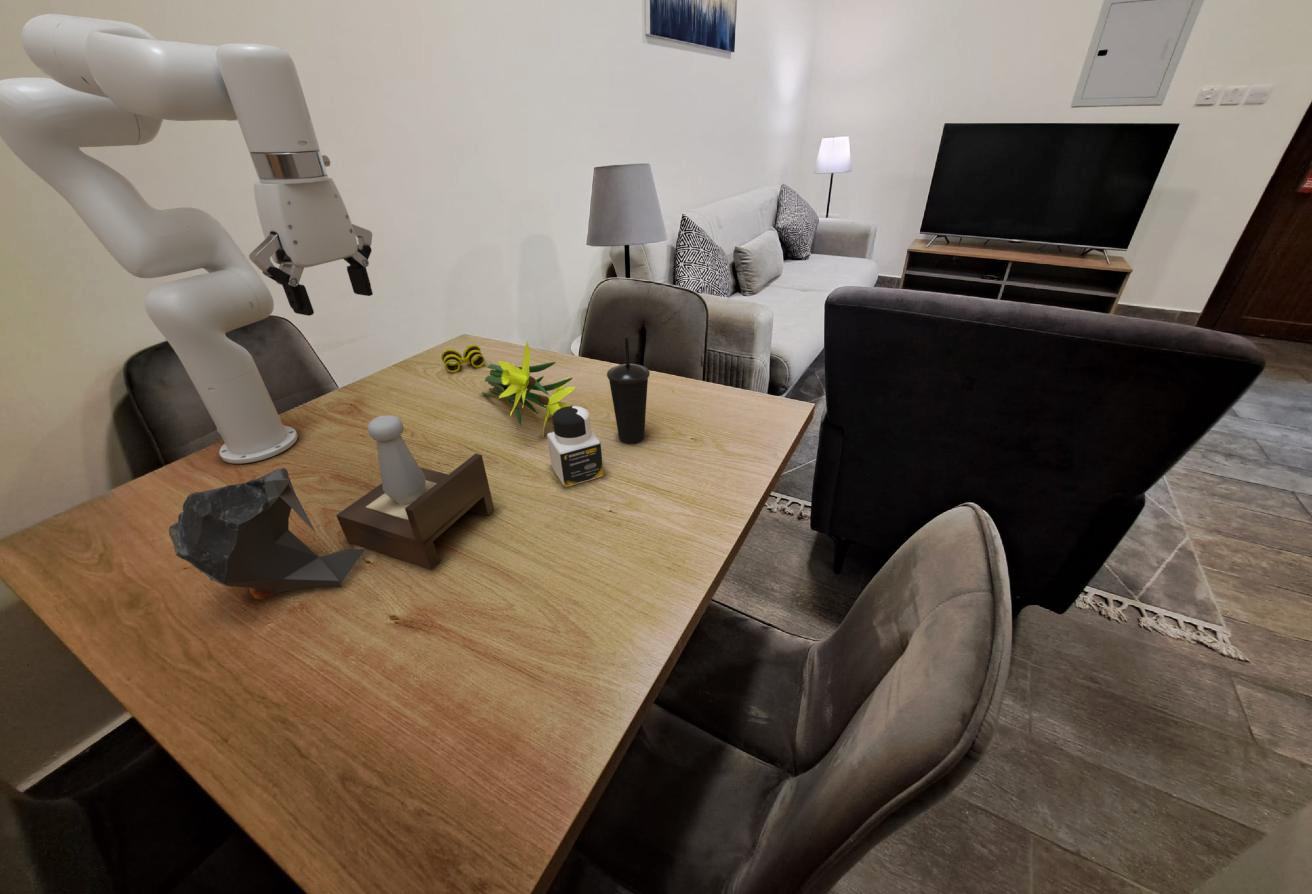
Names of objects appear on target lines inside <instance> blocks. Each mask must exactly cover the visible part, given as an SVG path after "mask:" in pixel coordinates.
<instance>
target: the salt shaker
mask: <svg viewBox="0 0 1312 894" xmlns="http://www.w3.org/2000/svg"><path fill="white" fill-rule="evenodd" d="M367 432H368V434H369V435H368V436H369V437H370V438H371V439H372V440H373V441H376V449H377V456H378V463H379V471H380V478H381V483H382V487H383V491H384V492H385V493H386V494H387V495H388V496H389V497H390V498H391V499H392V500H393V501H395V502H397V503H399V504H401V505H404V504H409V503H412V502H414V501H415V500H416V499H418V498H419V497H420V496H421V495H423V494H424V489H425V485H426V479H425V475H424V474H423V472H422V470H421V469H420V467H421V466H420V465H419V463H418V462H417V460H416V458H415V457H414V455H413V453H412V452H411V450H410V449H409V447H408V445H407V444H406V442H405V440H404V438H403V437H402V434H403V433H404V424H403V421H402V419H401V417H399V416H396V415H393V414H385V415H379V416H377V417H375V418H373V419H372V420H370V422H369V423H368V425H367Z"/></svg>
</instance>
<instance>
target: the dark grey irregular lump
mask: <svg viewBox="0 0 1312 894" xmlns="http://www.w3.org/2000/svg"><path fill="white" fill-rule="evenodd" d="M292 510H293V511H294V512H295V513H296V514H297V516H299V517H300V518H301V519H302V520H303V521H304V522H305V524H307V526H309V527H310V528H311V529H312V531H314V533H317V532H316V529H315V528H314V526H313V524H312V522H311V520H310V519H309V517H308V515H307V513H306V511H305V509H304V507H303V505H302V503H301V501H300V500H299V498H298V496H297V493H296V491H295V489H294V486H293V484H292V481H291V478H290V476H289V471H288V469H287V468H286V467H280V468H277V469H275V470H273V471H271V472H269V473H266V474H265V475H262V476H261V477H259V478H255V479H251V480H248V481H246V482H242V483H238V484H237V483H236V484H228V485H226V486H222V487H217V488H213V489H208V490H203V491H195V492H192V493H190V494H189V495H188V496H187V497H186V498H185V500H184V502H183V504H182V511H181V512H179V514H178V516H177V522H175V523H173V524H172V525H170V527H169V529H168V535H169V537H170V539H171V542H172V544H173V548H174V553H175V557H176V556H177V558H179V559H181V560H183V561H185V562H188V564H191V565H192V567H194V568H196V569H197V570H198V571H199V572H200V573H202V574H204V575H205V576H206V577H207V578H209V580H210V581H211V582H216V583H217V584H220V585H223V586H224V587H232V588H243V589H244V588H245V589H249V592H250V594H251V595H252V596H253V597H252V598H254V599H256V600H264V599H267V598H268V597H271V596H275V595H278V594H280V593H283V592H294V591H306V590H314V589H323V588H343V586H342V583H343V581H344V580H345V579H346V577H347V576H348V574H349V573H350V572H351V570H352V569H353V568H354V566H355V565H356V563H357V562H358V560H359V559H360V557H362V555H363V553H364V551H365V550H366V549H367V548H365V547H364V548H346V549H342V550H339V551H336V552H332V553H327V554H325V555H322V556H319V555H318V554H317V553H315V552H314V551H313V549H311V548H310V547H309V546H308V545H307V544H305V543H304V542H303V541H302V540H301V539H300V538H299V537H298V536H296V535H295V534H294V533H293V532H292V531H291V530H290V529H289V525H290V524H289V522H290V521H289V520H290V515H291V512H292Z"/></svg>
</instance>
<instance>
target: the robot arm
mask: <svg viewBox="0 0 1312 894" xmlns="http://www.w3.org/2000/svg"><path fill="white" fill-rule="evenodd" d="M21 44H22V46H23V49H24V52H25V53H26V55H27V57H28V58H29V60H30V61H31V62H32V63H33V64H34V66H36V68H38V69H39V70H40V72H42V73H43V74H44V75H46V76H47V77H33V76H32V77H28V76H27V77H11V78H5V79H0V139H2V141H3V142H4V143H5V145H6V146H7V147H8V148H9V150H10V151H11V152H12V153H13V154H14V155H15V156H16V157H17V158H18V159H19V160H20V161H21V162H22V163H23V164H24V165H25V166H26V167H27V168H29V169H30V170H31V171H32V172H33V173H34V174H35V175H36V176H38V177H39V178H40V179H42V180H43V181H44V182H45V183H46V184H48V185H49V186H50V187H51V188H52V189H53V190H54V191H56V193H58V194H59V195H60V196H61V197H62V198H63V199H64V200H65V201H66V202H67V203H68V204H69V205H70V206H71V208H72V209H73V211H75V213H76V214H77V215H78V217H79V218H80V219H81V220H82V222H83V223H84V224H85V225H86V227H88V229H89V230H90V231H91V232H92V234H93V235H94V236H95V237H96V238H97V240H98V241H99V242H100V243H101V245H102V246H103V247H104V248H105V249H106V251H107V252H108V253H109V254H110V255H111V256H112V257H113V258H114V260H115V261H116V262H117V263H118V264H119V265H120V266H121V268H123V269H124V270H125V271H126V272H128V273H129V274H130V275H132V276H134V277H137V278H139V279H156V278H162V277H167V276H171V275H172V276H173V275H177V274H182V273H187V272H190V271H195V270H200V269H204V270H205V271H206V272H208V273H202V274H198V275H193V276H189V277H183V278H180V279H175V280H172V281H171V280H170V281H168V282H165V283H162V284H160V285H158V286H156V287H154V288H153V289H151V290H150V291H149V292H148V293H147V294H146V296H145V298H144V308H145V312H146V315H147V316H148V318H149V319H150V320H151V323H153V325H154V326H155V327H156V329H157V330H158V331H159V332H160V333H161V334H162V336H163V337H164V339H165V340H166V341H167V342H168V344H169V345H170V347H171V348H172V349H173V351H174V352H175V354H176V355H177V357H178V359H179V360H180V362H181V364H182V366H183V367H184V370H185V371H186V373H187V375H188V376H189V379H190V381H191V382H192V384H193V386H194V388H195V390H196V392H197V393H198V395H199V397H200V399H201V401H202V402H203V405H204V407H205V408H206V411H207V412H208V414H209V416H210V418H211V420H212V421H213V423H214V425H215V427H216V431H217V433H218V434H219V435H220V437H221V439H222V440H223V442H224V444H222V446H221V447H220V449H218V450H219V451H218V455H219V457H220V459H221V460H222V461H223V462H226V463H228V464H235V465H236V464H237V465H238V464H240V465H242V464H249V463H255V462H260V461H264V460H266V459H270V458H273V457H274V456H277V455H279V454H281V453H283V452H286V451H287V450H288V449H290V448H291V447H292V446H294V445H295V443H297V441H298V438H299V434H298V432H297V430H296V429H295V428H294V427H291V426H289V425H288V426H287V425H284V423H283V421H282V419H281V417H280V414H279V413H278V410H277V408H276V407H275V404H274V402H273V400H272V397H271V395H270V393H269V391H268V389H267V386H266V384H265V382H264V379H263V377H262V376H261V373H260V371H259V368H258V367H257V365H256V362H255V360H254V358H253V356H252V355H251V353H250V352H249V351H248V350H247V349H246V348H245V347H244V346H242V345H241V344H238V343H237V342H236V341H233V340H232V339H230V338H229V337H227V336H226V334H227V333H230V332H231V331H233V330H236V329H240V328H242V327H245V326H248V325H252V324H254V323H257V322H260V321H262V320H266V319H267V318H268V317H270V316H271V315H272V313H273V311H274V309H275V302H274V297H273V294H272V292H271V291H270V289H269V288H268V286H267V284H266V282H265V281H264V279H263V278H262V277H261V275H260V274H259V272H258V271H257V270H256V269H255V267H254V266H253V264H254V265H255V266H256V267H257V268H258V269H259V270H260V271H261V273H262V274H263V275H264V276H265V277H268V278H269V279H271V280H272V281H274V282H275V283H276V284H278V285H282V289H283V290H284V291H283V292H284V293H285V296H286V299H287V301H288V305H289V306H290V308H291V309H292V311H293V312H294V313H295V314H298V315H303V316H308V317H311V316H313V315H314V313H315V311H314V308H313V305H312V302H311V299H310V296H309V294H308V291H307V288H306V286H305V285H304V284H300V282H301V278H302V275H303V273H304V270H305V268H311V267H312V268H313V267H315V266H319V265H325V264H328V263H332V262H335V261H340V260H344V261H345V262H346V263H348V264H349V265H347V266H346V271H347V274H348V278H349V282H350V285H351V287H352V291H353V293H354V294H355V295H360V296H367V297H371V296H372V295H373V294H374V293H373V290H372V285H371V281H370V278H369V273H368V271H367V268H368V267H369V266H370V261H369V258H370V256H371V254H372V243H373V241H372V240H373V232H372V231H371V230H369V229H366V228H364V227H361V226H359V225H356V224H353V223H352V220H351V218H350V214H349V212H348V210H347V207H346V204H345V202H344V200H343V198H342V195H341V192H340V190H339V189H338V187H337V185H336V183H335V181H334V179H333V178H332V177H329V175H328V171H327V167H330V166H331V160H330V157H328V155H325V154H323V155H322V151H321V147H320V145H319V140H318V137H317V134H316V131H315V128H314V125H313V121H312V118H311V114H310V111H309V107H308V104H307V101H306V97H305V94H304V91H303V87H302V84H301V81H300V78H299V74H298V70H297V67H296V64H295V61H294V60H293V58H292V57H291V55H290V54H289V52H287V51H286V50H284V49H283V48H282V47H279V46H276V45H270V44H265V43H264V44H262V43H248V42H231V43H224V44H221V45H212V44H204V43H194V42H183V41H173V40H161V39H156V37H155V36H154V35H153V34H151V33H150V32H148V31H147V30H146V29H144V28H142V27H140V26H139V25H137V24H133V23H130V22H127V21H120V20H113V19H105V18H104V19H103V18H95V17H88V16H79V15H70V14H62V13H45V14H39V15H37V16H34V17H32V18H30V19H29V20H28V21H27V22H26V23H25V24H24V26H23V28H22V30H21ZM164 120H166V121H174V122H192V121H195V122H196V121H199V122H200V121H227V122H228V121H229V122H230V121H231V122H232V121H237V122H238V125H239V128H240V130H241V133H242V136H243V139H244V141H245V145H246V147H247V151H248V152H249V156H250V158H251V160H252V164H253V166H254V169H255V172H256V175H257V178H258V180H259V181H258V182H253V192H254V193H253V194H254V200H255V205H256V210H257V211H256V212H257V215H258V219H259V223H260V226H261V229H262V233H263V237H264V240H263V241H262V242H261V243H260V244H259V245H257V247H256V248H255V249H253V250H252V251H251V252H250V253H249V254H248V258H247V255H245V253H244V252H243V251H242V250H241V248H240V246H239V245H238V244H237V242H236V241H235V240H234V238H233V236H231V234H230V233H229V231H228V230H227V229H226V228H225V227H224V226H223V224H222V223H221V222H220V221H219V220H218V219H217V218H215V217H214V216H213V215H211V214H210V213H208V212H206V211H204V210H202V209H200V208H195V207H185V206H184V207H175V208H168V209H167V208H166V209H157V208H154V207H153V206H151V205H150V203H148V202H147V201H146V200H145V198H144V197H143V195H142V194H141V193H140V191H139V190H138V189H137V188H136V186H135V185H134V184H133V183H132V182H131V181H130V180H129V178H127V177H126V176H125V175H123V174H122V173H120V172H119V171H117V170H116V169H114V168H113V167H111V166H109V165H108V164H106V163H104V162H102V161H100V160H99V159H97V158H94V157H93V156H90V155H88V154H87V153H85V152H84V151H82V150H81V148H98V147H99V148H103V147H122V146H123V147H124V146H141V145H145V144H148V143H151V142H152V141H153V140H154V139H155V138H156V137H157V136H158V135H159V132H160V130H161V127H162V124H163V122H164ZM271 259H272V261H273V262H274V263H275V264H277V265H279V266H278V267H276V266H275V265H274V263H273V262H272V261H271ZM250 261H251V262H252V263H253V264H252V263H251V262H250Z"/></svg>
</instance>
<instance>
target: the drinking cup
mask: <svg viewBox="0 0 1312 894" xmlns="http://www.w3.org/2000/svg"><path fill="white" fill-rule="evenodd" d="M629 341H630V339H629V338H628V337H624V354H625V355H624V357H625V363H622V364H619V365H615V366H613V367H611V368H610V369H608V370H607V372H606V378H607V379H608V382H609V387H610V393H611V399H612V404H613V410H614V417H615V423H616V429H617V435H618V439H619V441H620V442H621V443H623V444H627V445H635V444H639V443H641V442H642V441H643V440H644V439H645V429H646V428H645V426H646V415H647V414H646V413H647V400H648V385H649V382H648V381H649V377H650V373H651V372H650V370H649V368H647V367H646V366H644V365H641V364H636V363H630V362H631V361H630V360H631V359H630V344H629V343H630V342H629Z"/></svg>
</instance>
